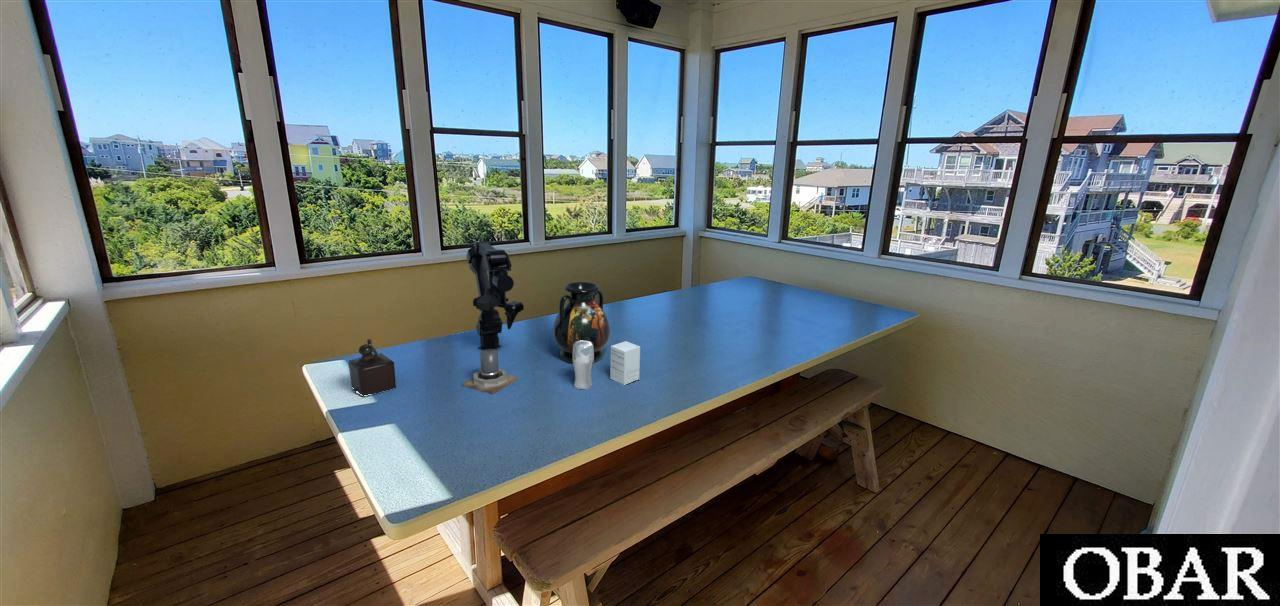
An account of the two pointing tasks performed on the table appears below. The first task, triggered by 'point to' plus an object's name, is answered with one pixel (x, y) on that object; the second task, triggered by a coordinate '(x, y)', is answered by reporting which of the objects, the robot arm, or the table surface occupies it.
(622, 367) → the supplement box
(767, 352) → the table surface
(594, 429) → the table surface
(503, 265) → the robot arm
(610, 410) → the table surface
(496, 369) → the grey dome-topped cylinder
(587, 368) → the beer glass
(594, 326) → the amphora vase
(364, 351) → the brown coffee grinder
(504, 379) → the walnut mount board
